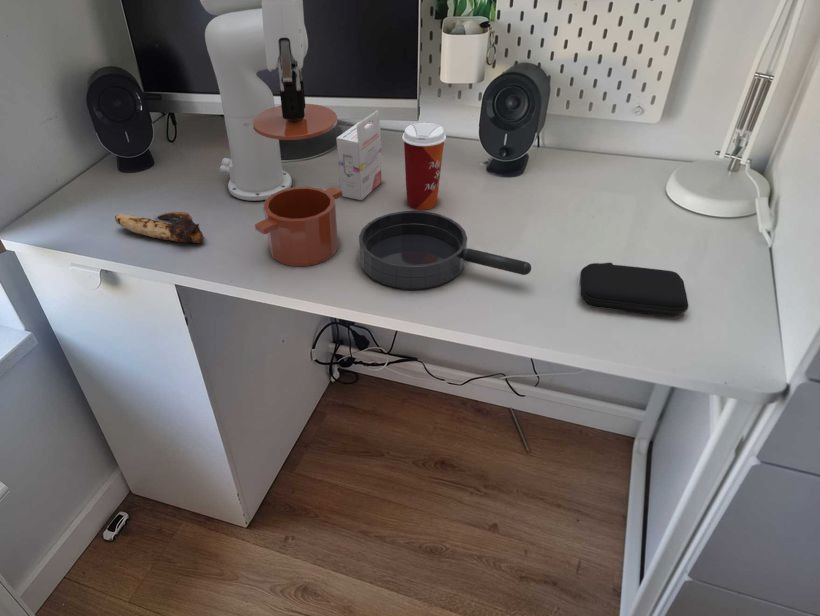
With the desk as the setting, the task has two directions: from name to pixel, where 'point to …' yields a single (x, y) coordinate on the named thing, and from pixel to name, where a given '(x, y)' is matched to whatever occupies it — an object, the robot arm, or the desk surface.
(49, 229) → the desk surface
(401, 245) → the pan
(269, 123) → the lid
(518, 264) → the pan handle
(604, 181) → the desk surface
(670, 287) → the carrying case
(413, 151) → the paper cup
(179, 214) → the overripe banana
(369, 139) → the ink cartridge box
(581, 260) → the desk surface
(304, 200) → the pot
